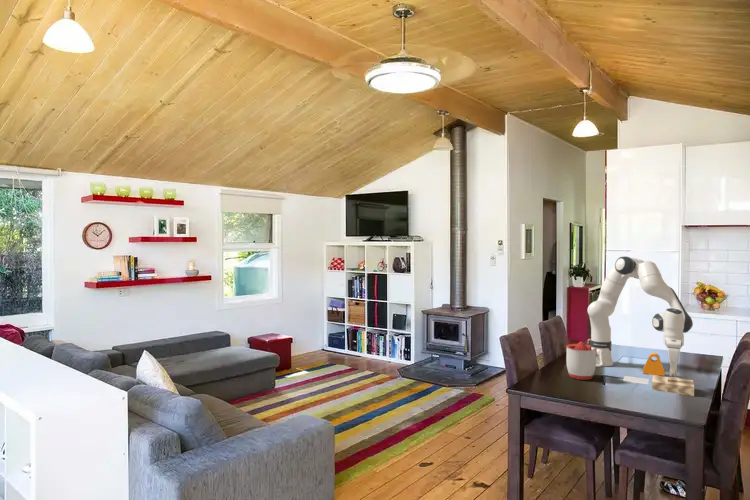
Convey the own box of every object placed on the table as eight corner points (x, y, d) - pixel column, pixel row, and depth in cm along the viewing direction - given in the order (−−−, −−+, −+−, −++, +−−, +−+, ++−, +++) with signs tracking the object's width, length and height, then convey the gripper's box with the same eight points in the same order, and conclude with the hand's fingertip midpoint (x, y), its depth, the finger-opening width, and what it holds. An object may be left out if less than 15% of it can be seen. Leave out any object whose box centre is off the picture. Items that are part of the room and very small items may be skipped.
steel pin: (669, 376, 258) (670, 358, 258) (669, 375, 261) (670, 357, 261) (676, 377, 257) (677, 359, 256) (676, 375, 259) (676, 358, 259)
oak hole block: (652, 390, 257) (652, 381, 257) (652, 383, 269) (652, 375, 269) (694, 396, 248) (694, 387, 248) (692, 389, 260) (693, 380, 260)
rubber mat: (622, 381, 273) (622, 381, 273) (624, 376, 283) (624, 375, 283) (648, 385, 267) (648, 384, 267) (649, 379, 277) (649, 378, 277)
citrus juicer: (604, 381, 274) (605, 344, 274) (573, 381, 273) (574, 344, 272) (590, 373, 290) (591, 338, 289) (560, 373, 288) (561, 338, 288)
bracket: (665, 374, 289) (665, 353, 288) (664, 377, 283) (665, 355, 282) (643, 371, 294) (644, 351, 294) (642, 374, 288) (643, 353, 288)
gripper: (666, 337, 269) (666, 363, 269) (666, 344, 251) (665, 371, 252) (680, 338, 266) (680, 364, 266) (681, 345, 248) (680, 373, 248)
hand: (673, 368), depth 259 cm, fingers closed on steel pin, 3 cm apart
